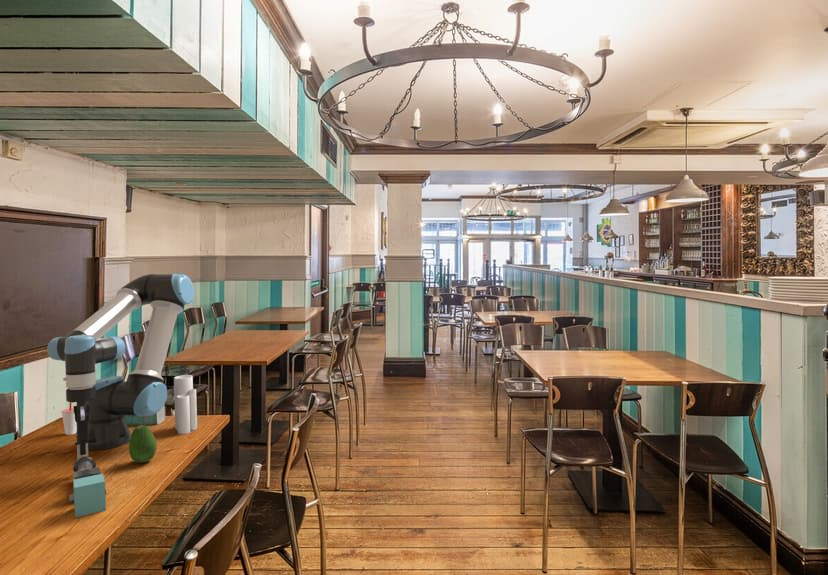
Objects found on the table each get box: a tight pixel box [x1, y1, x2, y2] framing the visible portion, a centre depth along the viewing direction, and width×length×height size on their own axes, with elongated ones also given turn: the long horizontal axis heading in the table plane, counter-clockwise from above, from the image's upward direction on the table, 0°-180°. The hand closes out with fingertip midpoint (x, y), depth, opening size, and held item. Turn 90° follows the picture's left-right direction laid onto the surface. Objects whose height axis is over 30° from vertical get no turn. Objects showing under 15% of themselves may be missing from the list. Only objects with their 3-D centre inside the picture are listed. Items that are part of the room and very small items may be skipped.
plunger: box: [72, 455, 97, 476], centre depth 144 cm, size 17×6×6 cm, turn 36°
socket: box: [72, 473, 107, 519], centre depth 132 cm, size 6×7×8 cm
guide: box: [68, 466, 107, 504], centre depth 139 cm, size 4×8×7 cm, turn 126°
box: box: [124, 404, 166, 426], centre depth 204 cm, size 7×14×8 cm, turn 93°
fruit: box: [128, 425, 158, 464], centre depth 163 cm, size 8×8×12 cm
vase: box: [173, 374, 198, 435], centre depth 195 cm, size 11×7×20 cm, turn 33°
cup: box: [61, 402, 77, 436], centre depth 191 cm, size 5×5×12 cm
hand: (83, 464), depth 154 cm, fingers closed
